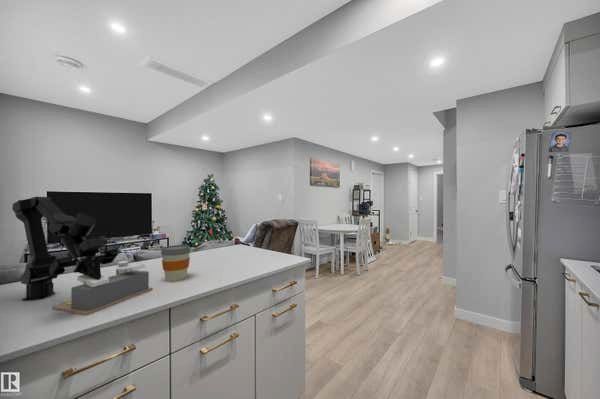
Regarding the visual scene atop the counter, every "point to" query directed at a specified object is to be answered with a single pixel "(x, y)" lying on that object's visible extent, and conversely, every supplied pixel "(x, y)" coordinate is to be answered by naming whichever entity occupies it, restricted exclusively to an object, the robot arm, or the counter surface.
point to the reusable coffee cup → (175, 262)
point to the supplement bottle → (122, 266)
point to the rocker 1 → (92, 280)
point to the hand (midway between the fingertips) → (99, 278)
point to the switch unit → (106, 293)
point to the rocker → (131, 268)
